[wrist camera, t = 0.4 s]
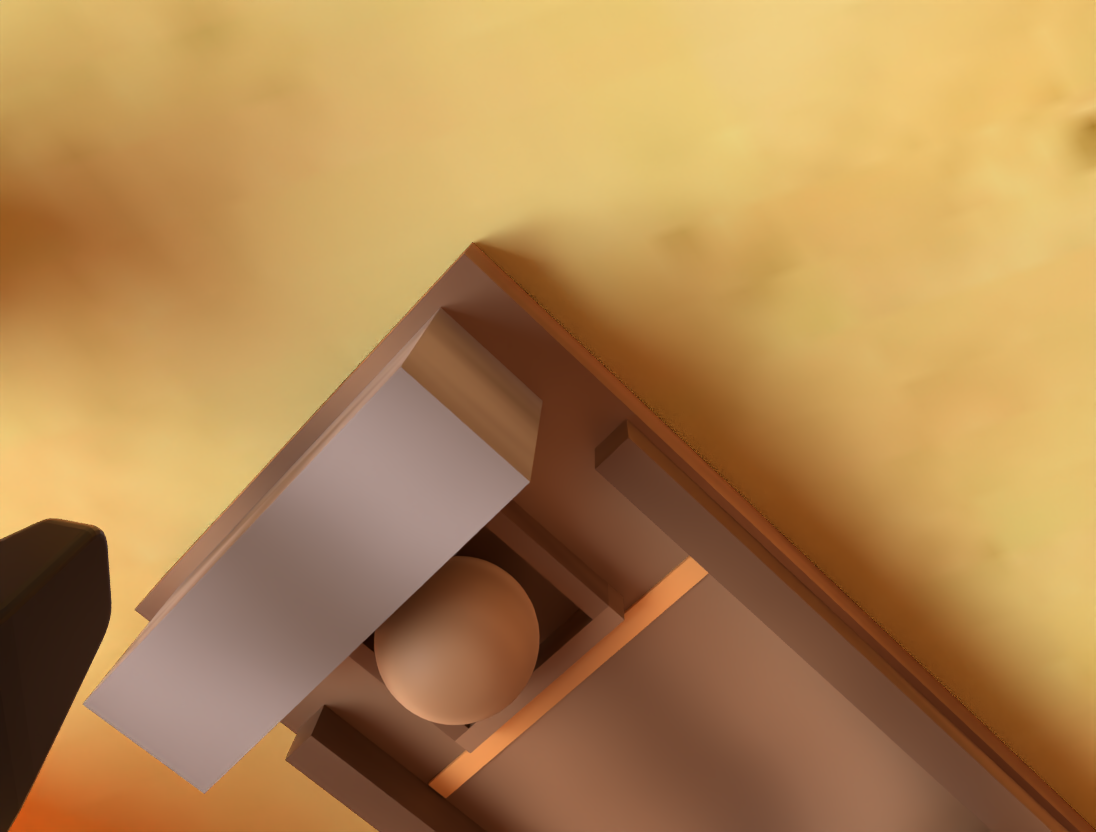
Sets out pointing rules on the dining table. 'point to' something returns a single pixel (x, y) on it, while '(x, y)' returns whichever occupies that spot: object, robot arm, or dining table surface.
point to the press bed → (546, 617)
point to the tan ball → (459, 644)
